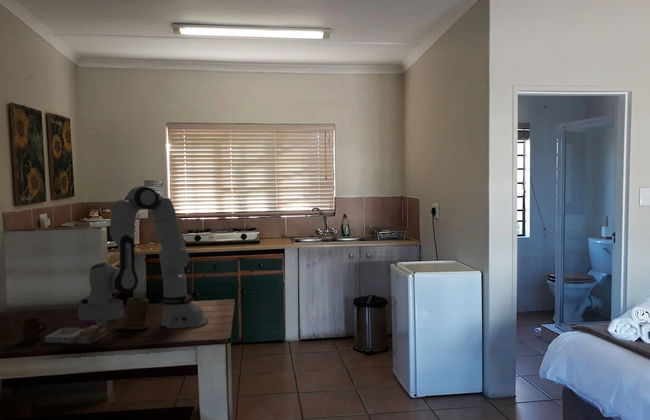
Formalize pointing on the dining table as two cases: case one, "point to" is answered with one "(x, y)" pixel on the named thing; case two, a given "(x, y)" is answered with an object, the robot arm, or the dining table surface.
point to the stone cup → (135, 314)
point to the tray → (59, 335)
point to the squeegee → (96, 323)
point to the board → (76, 339)
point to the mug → (33, 330)
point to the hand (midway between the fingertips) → (102, 328)
